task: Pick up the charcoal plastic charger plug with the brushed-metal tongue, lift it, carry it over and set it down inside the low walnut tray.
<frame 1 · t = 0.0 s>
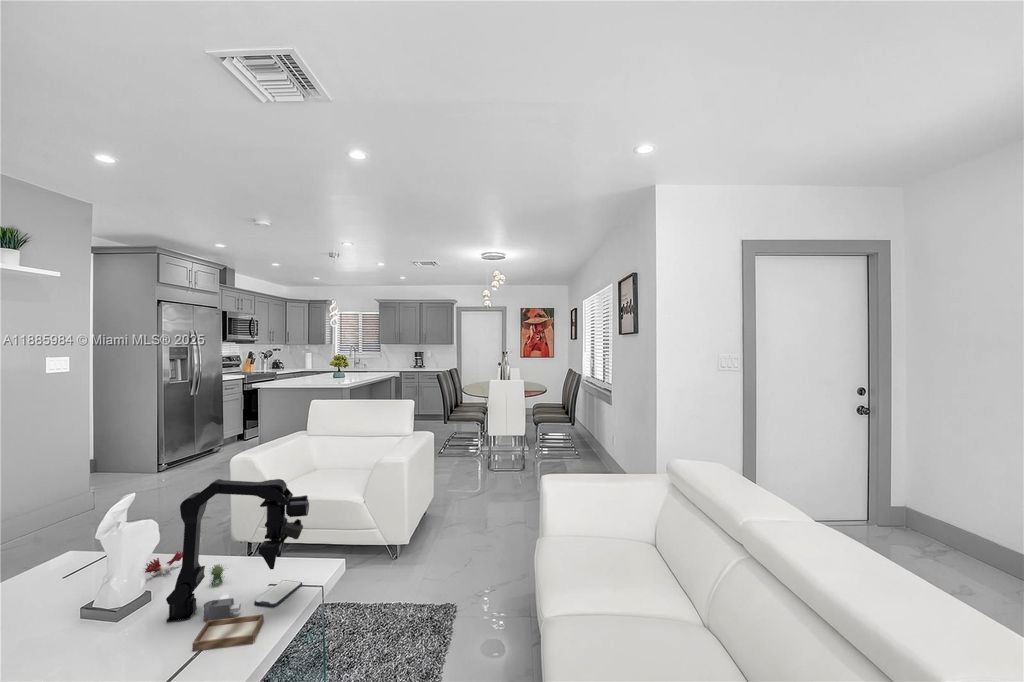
hand: (275, 562, 161), 15 cm above the table, fingers open, 9 cm apart
tray: (229, 635, 145), on the table
plug: (221, 617, 154), on the table
figurine: (161, 574, 182), on the table
phone case: (279, 596, 168), on the table
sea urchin: (217, 585, 174), on the table
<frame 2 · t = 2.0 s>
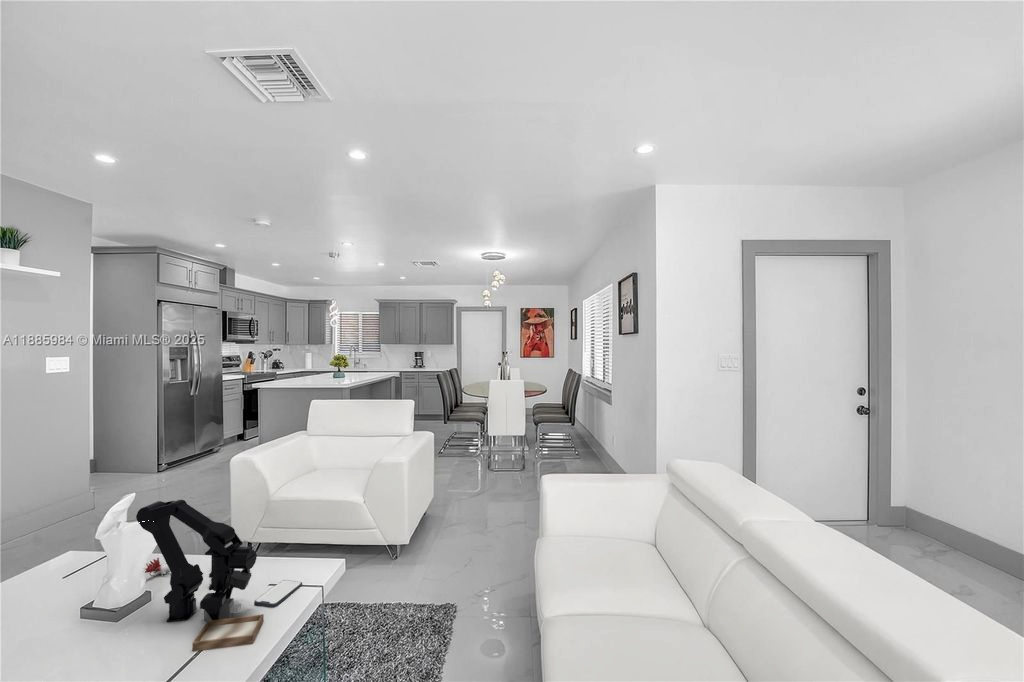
hand: (221, 614, 154), 1 cm above the table, fingers open, 9 cm apart
nothing on the table moved.
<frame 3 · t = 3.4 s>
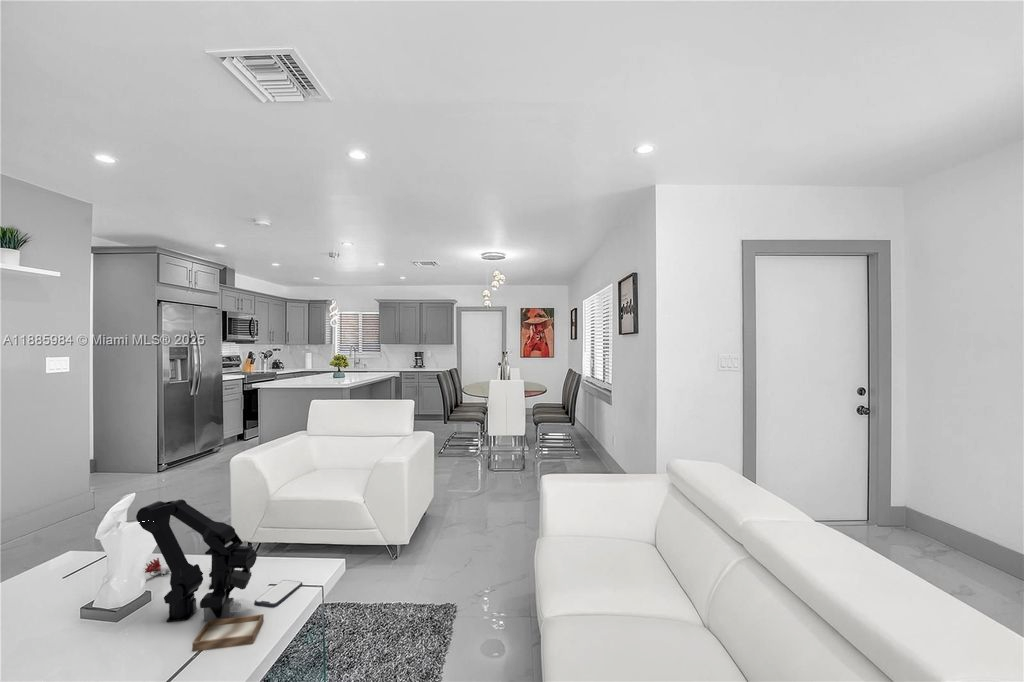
hand: (221, 613, 154), 1 cm above the table, fingers closed on plug, 4 cm apart
plug: (221, 616, 154), on the table, touching gripper
everything else where it was.
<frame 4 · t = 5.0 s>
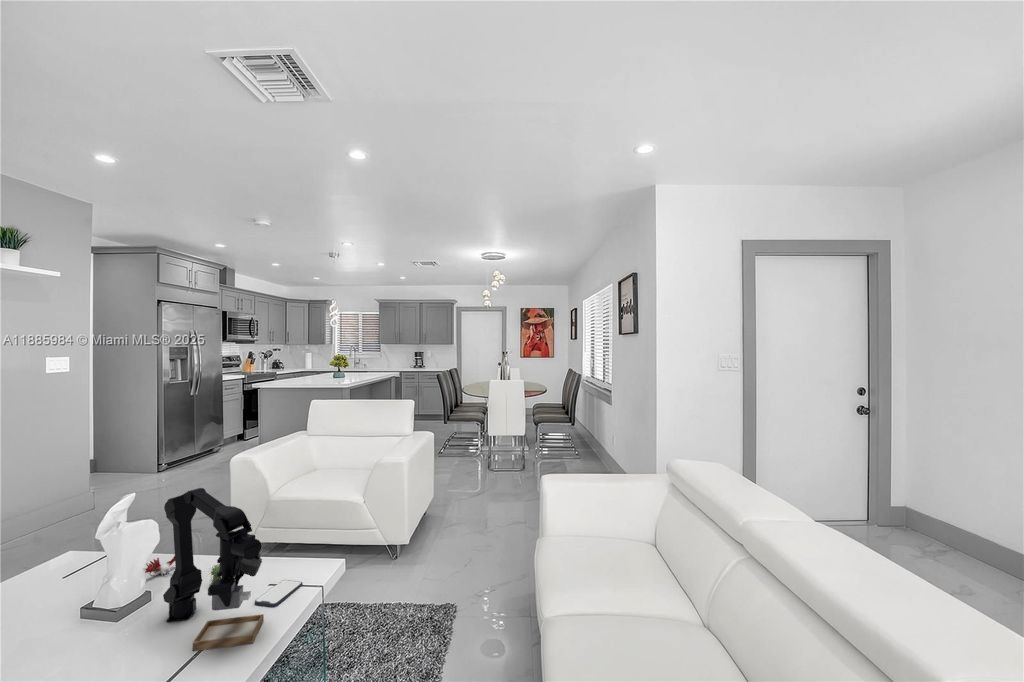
hand: (230, 602, 145), 10 cm above the table, fingers closed on plug, 4 cm apart
plug: (230, 605, 145), point 9 cm above the table, touching gripper
everything else where it was.
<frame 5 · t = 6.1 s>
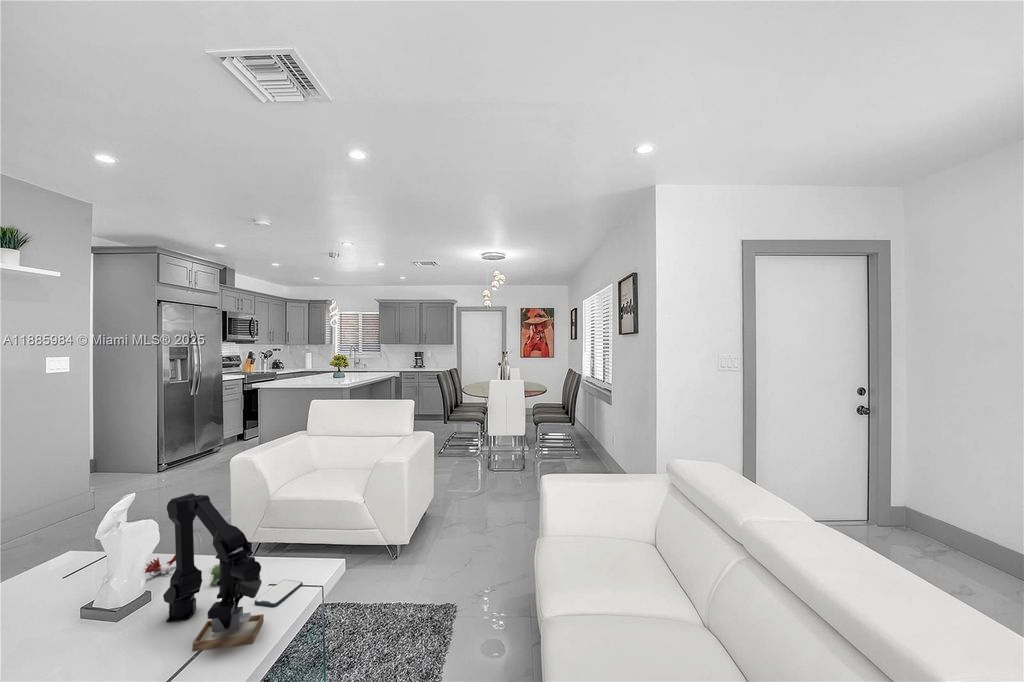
hand: (229, 624, 145), 4 cm above the table, fingers closed on plug, 4 cm apart
plug: (230, 627, 145), point 3 cm above the table, touching gripper
everything else where it was.
when the fingers open (3 cm above the table, at t = 6.9 s): plug drops 1 cm, resting on tray.
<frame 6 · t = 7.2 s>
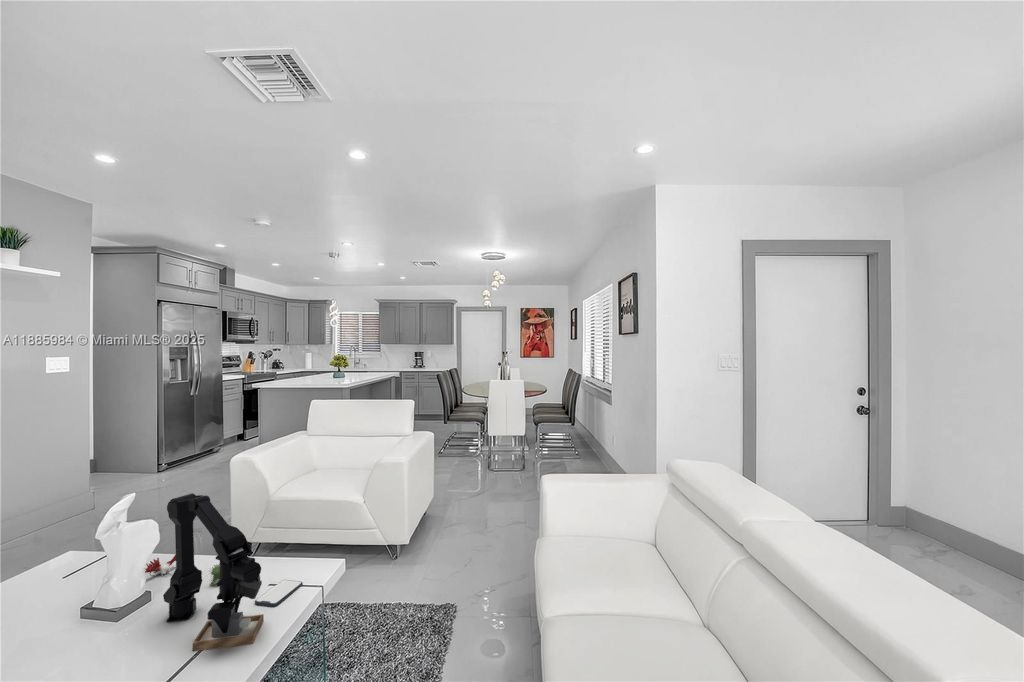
hand: (229, 625, 145), 3 cm above the table, fingers open, 8 cm apart
plug: (230, 632, 145), point 1 cm above the table, touching tray
everything else where it was.
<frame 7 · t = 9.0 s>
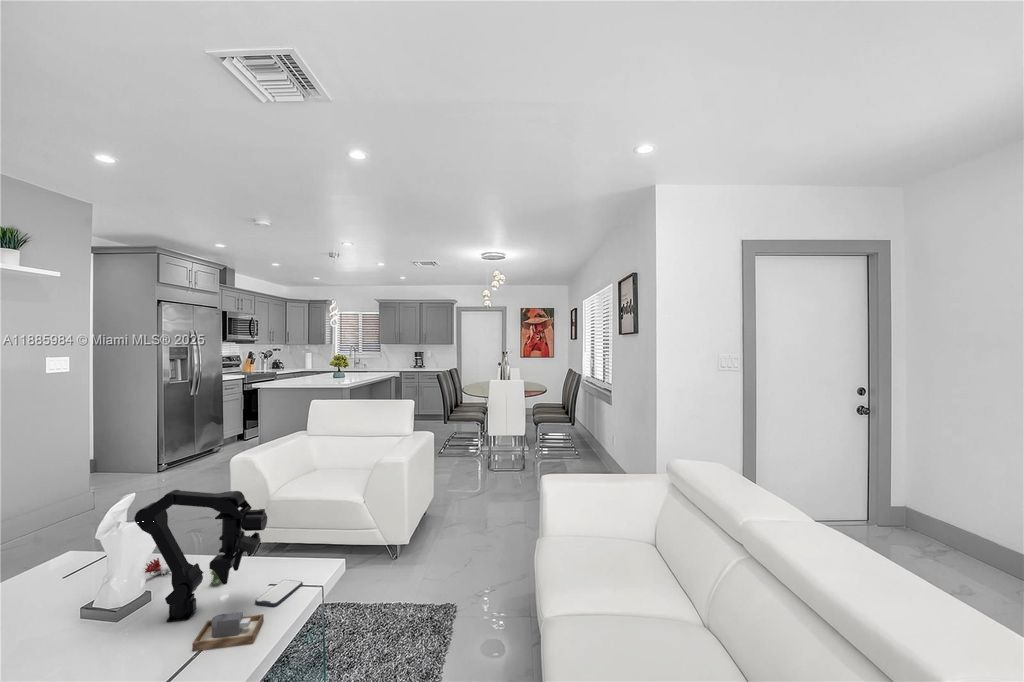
hand: (230, 577, 157), 12 cm above the table, fingers open, 9 cm apart
nothing on the table moved.
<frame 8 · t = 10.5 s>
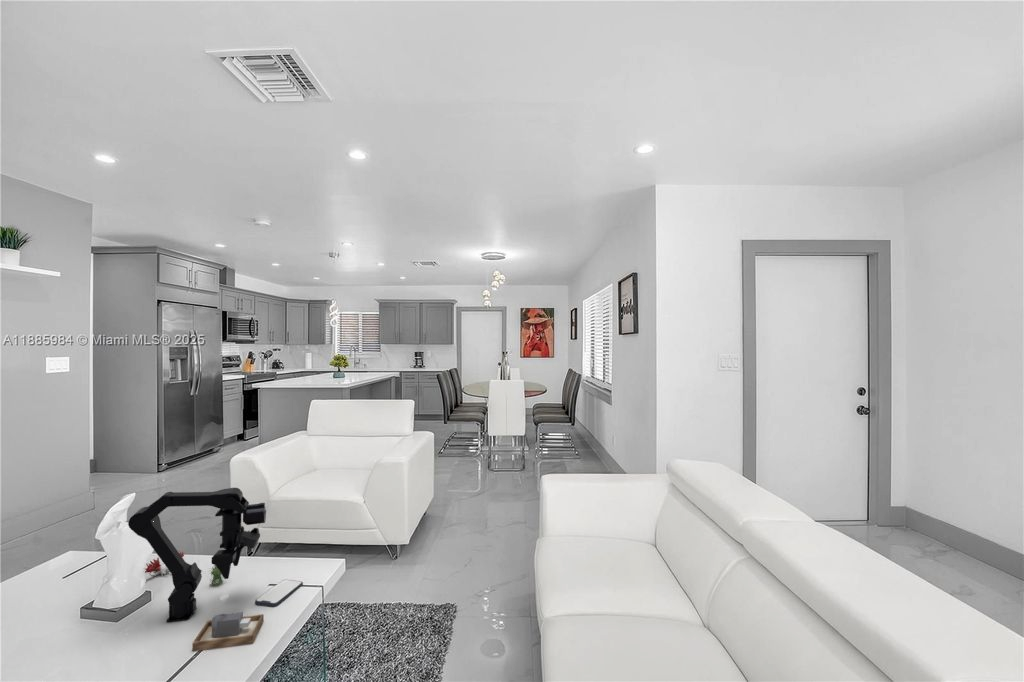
hand: (231, 572, 160), 12 cm above the table, fingers open, 9 cm apart
nothing on the table moved.
at the end: plug inside the target area on the tray (0.1 cm from its centre), point 0.9 cm above the tray's base; plug tilted 0°; the gripper is holding nothing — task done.
